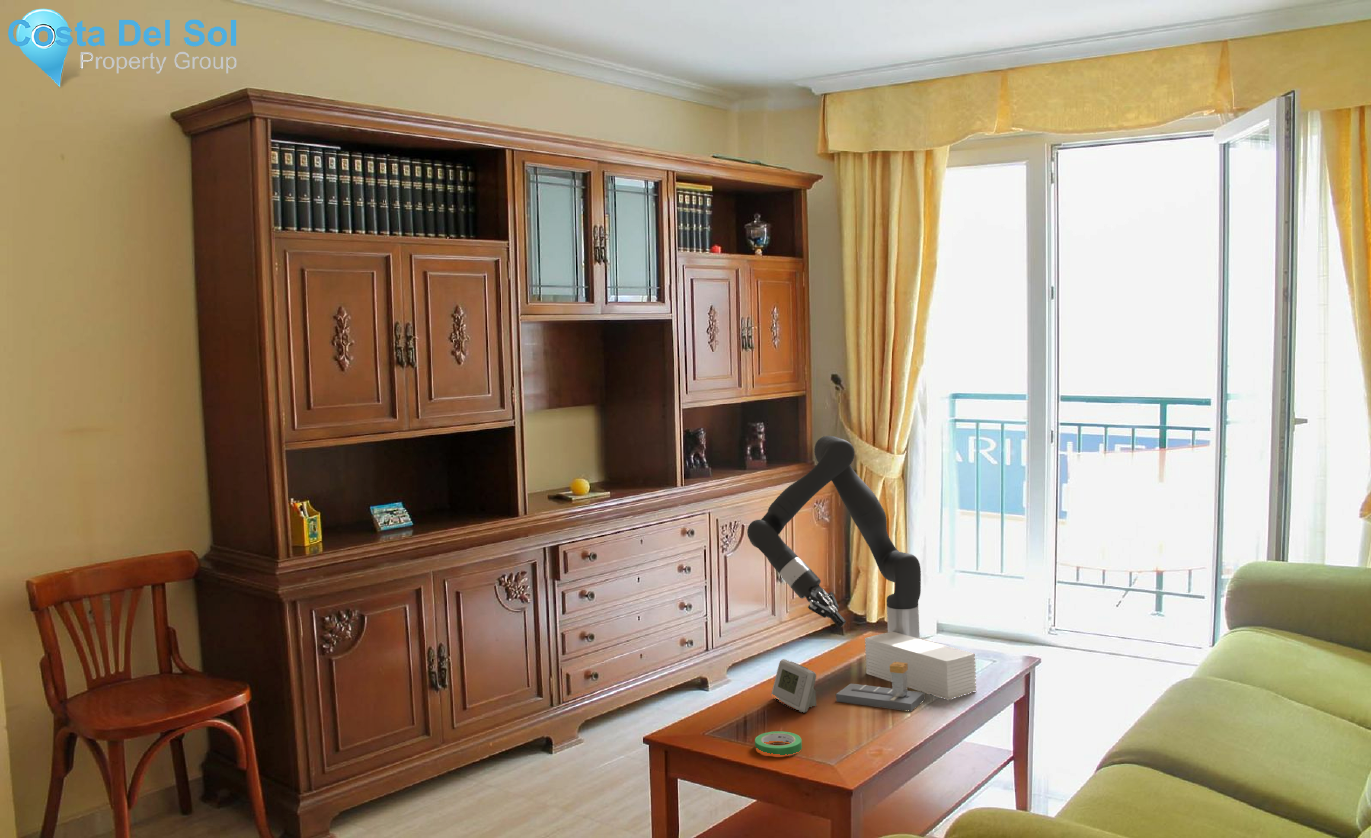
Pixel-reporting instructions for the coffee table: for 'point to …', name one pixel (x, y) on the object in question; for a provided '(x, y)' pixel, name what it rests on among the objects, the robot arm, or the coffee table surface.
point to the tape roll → (779, 736)
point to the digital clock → (795, 685)
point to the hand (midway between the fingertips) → (843, 624)
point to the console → (879, 697)
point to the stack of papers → (922, 664)
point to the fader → (899, 678)
